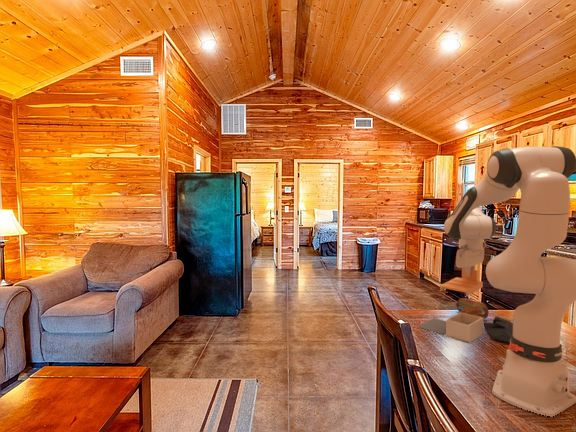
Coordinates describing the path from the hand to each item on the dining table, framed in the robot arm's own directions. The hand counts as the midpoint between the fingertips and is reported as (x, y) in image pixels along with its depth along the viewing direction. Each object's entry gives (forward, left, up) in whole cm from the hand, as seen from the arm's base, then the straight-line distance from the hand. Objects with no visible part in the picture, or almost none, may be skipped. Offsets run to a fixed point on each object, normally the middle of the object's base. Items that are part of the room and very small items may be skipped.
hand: (469, 275), depth 137 cm
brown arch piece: (+17, +5, -24) cm, 30 cm away
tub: (-9, -2, -24) cm, 25 cm away
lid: (-8, 0, -5) cm, 9 cm away
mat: (-8, +10, -24) cm, 27 cm away
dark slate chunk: (+5, -12, -24) cm, 28 cm away
